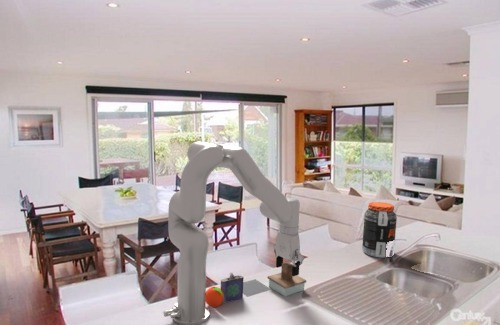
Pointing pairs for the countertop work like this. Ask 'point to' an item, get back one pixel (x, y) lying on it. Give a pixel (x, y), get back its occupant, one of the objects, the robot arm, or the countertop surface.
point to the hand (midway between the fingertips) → (287, 270)
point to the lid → (286, 277)
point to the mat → (254, 287)
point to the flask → (232, 288)
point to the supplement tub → (378, 228)
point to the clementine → (214, 296)
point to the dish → (288, 290)
